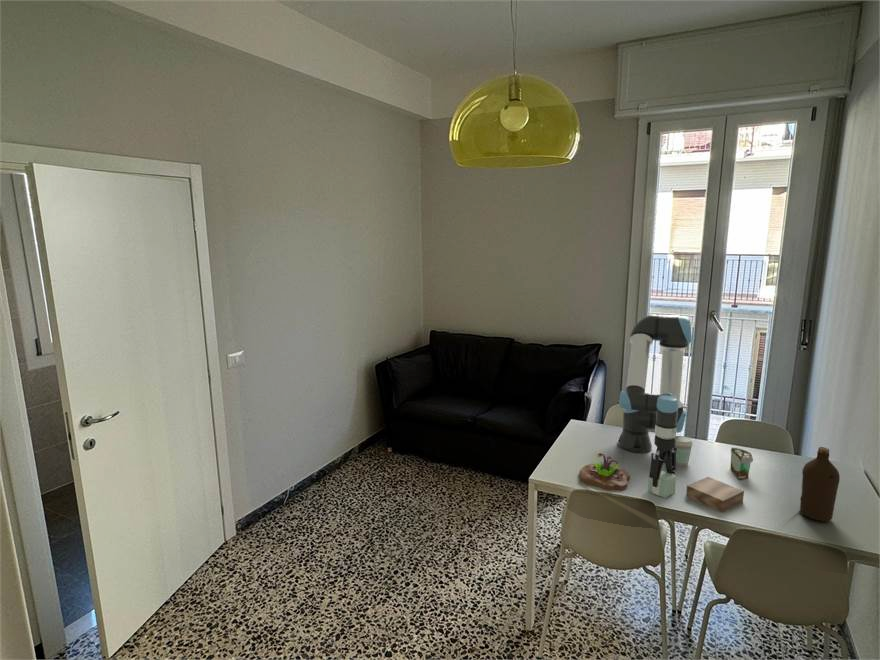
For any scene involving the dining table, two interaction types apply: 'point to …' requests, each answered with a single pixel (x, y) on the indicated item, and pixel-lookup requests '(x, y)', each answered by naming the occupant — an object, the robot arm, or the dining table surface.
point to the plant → (604, 475)
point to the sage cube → (664, 484)
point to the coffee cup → (683, 450)
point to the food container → (740, 463)
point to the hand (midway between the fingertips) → (661, 491)
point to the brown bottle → (819, 487)
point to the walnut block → (715, 494)
